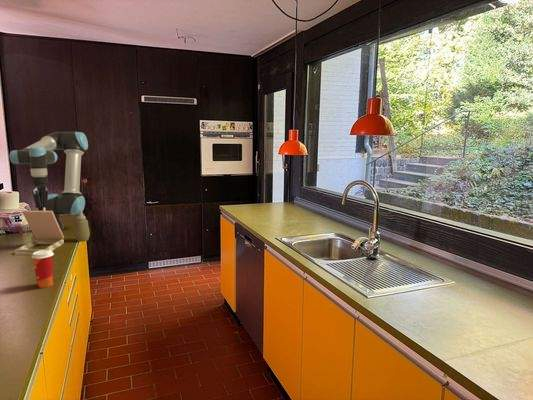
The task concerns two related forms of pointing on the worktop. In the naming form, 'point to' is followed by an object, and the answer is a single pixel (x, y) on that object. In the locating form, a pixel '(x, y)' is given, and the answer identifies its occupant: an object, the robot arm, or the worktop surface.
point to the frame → (25, 249)
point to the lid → (43, 224)
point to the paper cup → (43, 268)
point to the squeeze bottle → (81, 228)
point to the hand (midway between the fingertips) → (42, 219)
